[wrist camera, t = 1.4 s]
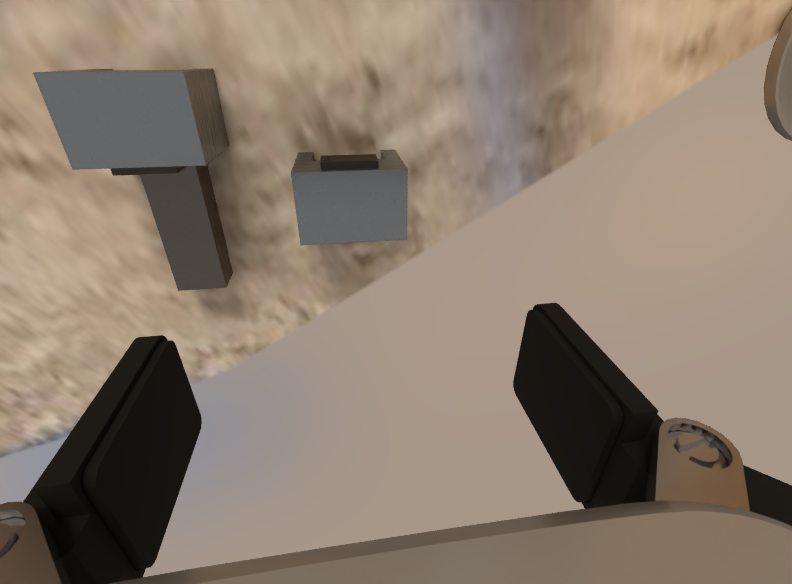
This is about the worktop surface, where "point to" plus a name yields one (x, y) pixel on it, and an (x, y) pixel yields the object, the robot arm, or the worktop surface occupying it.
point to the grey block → (350, 198)
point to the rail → (190, 227)
